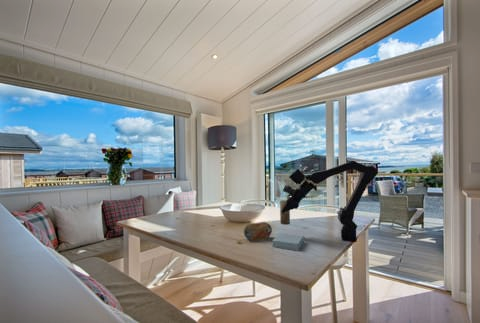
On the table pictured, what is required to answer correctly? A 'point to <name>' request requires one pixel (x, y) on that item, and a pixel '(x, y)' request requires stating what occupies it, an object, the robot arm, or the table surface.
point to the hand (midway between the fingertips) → (282, 211)
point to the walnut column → (286, 215)
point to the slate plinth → (288, 241)
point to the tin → (257, 231)
